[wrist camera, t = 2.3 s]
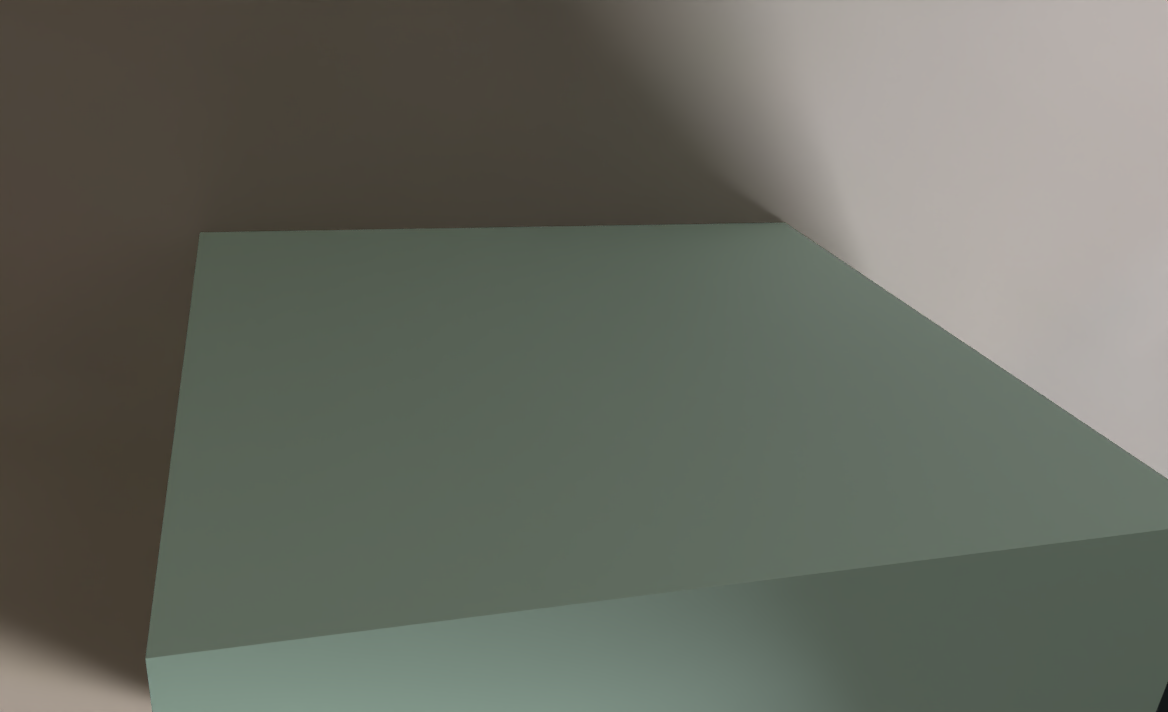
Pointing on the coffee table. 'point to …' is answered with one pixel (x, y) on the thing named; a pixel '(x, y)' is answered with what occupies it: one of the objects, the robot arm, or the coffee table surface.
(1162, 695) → the robot arm
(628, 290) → the sage block
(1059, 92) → the coffee table surface
